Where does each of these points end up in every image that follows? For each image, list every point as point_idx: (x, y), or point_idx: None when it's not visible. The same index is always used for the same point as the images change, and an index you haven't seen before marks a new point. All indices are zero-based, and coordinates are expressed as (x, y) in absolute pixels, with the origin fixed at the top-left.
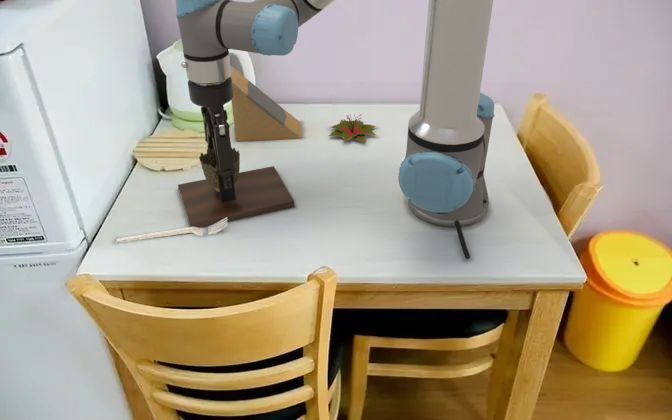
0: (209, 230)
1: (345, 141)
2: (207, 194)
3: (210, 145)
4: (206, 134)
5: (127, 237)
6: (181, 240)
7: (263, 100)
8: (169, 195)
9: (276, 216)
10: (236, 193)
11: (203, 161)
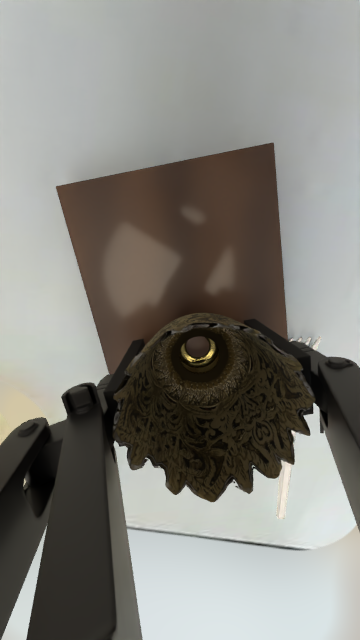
0: None
1: None
2: None
3: (116, 464)
4: (45, 520)
5: (282, 505)
6: (313, 420)
7: None
8: None
9: (291, 213)
10: (195, 312)
11: (183, 456)
